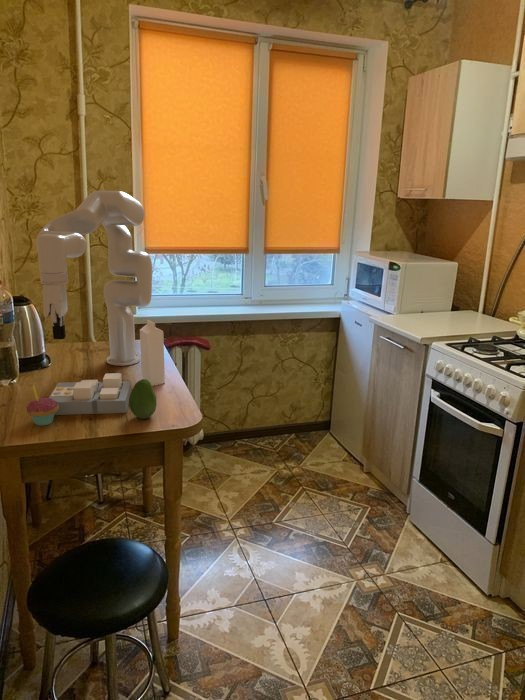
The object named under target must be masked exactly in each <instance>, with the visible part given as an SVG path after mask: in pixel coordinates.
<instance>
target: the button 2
mask: <svg viewBox="0 0 525 700" xmlns="http://www.w3.org/2000/svg"><path fill="white" fill-rule="evenodd" d="M80 382H93V384H94V390H97V389H98V382H99V380H98V379H82V380H80Z"/></svg>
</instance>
